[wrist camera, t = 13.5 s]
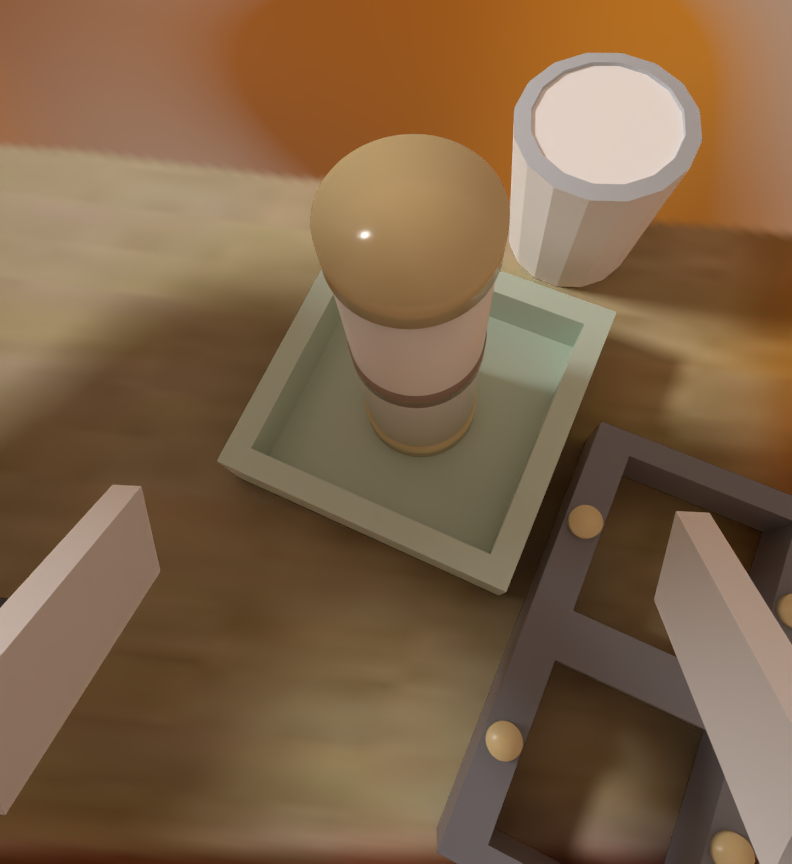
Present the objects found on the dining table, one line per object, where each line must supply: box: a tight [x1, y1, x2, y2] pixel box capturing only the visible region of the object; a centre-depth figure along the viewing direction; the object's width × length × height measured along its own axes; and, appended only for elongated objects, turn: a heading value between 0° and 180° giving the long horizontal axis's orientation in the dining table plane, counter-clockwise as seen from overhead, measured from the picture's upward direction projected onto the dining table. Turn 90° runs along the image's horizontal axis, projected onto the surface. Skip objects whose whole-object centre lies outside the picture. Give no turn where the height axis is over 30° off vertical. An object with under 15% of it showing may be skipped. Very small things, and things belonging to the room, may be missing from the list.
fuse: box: [310, 134, 510, 457], centre depth 21 cm, size 5×5×13 cm
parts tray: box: [217, 269, 616, 596], centre depth 26 cm, size 12×12×3 cm
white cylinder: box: [509, 53, 702, 287], centre depth 26 cm, size 7×7×7 cm
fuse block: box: [437, 421, 792, 864], centre depth 22 cm, size 9×16×3 cm, turn 155°
